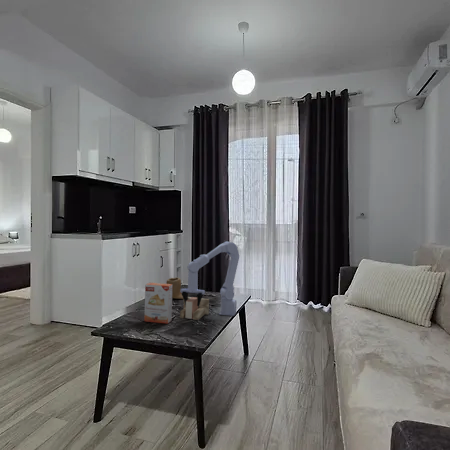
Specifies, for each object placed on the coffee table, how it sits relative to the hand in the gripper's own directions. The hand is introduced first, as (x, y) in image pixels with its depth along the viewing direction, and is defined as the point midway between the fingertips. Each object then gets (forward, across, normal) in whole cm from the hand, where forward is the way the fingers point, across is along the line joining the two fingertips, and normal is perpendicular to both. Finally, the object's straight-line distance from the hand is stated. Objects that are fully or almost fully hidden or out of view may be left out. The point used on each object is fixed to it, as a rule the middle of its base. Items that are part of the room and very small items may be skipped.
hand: (192, 305), depth 189 cm
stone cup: (+7, -26, +36) cm, 45 cm away
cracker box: (+6, -14, -16) cm, 22 cm away
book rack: (+6, 0, 0) cm, 6 cm away
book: (+6, 0, 0) cm, 7 cm away
